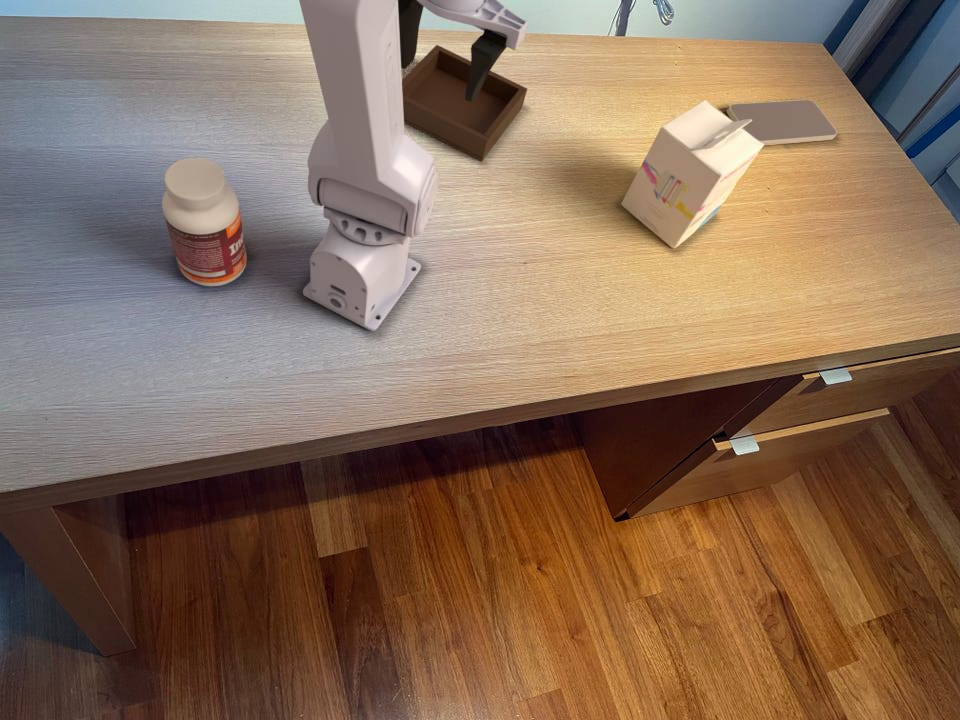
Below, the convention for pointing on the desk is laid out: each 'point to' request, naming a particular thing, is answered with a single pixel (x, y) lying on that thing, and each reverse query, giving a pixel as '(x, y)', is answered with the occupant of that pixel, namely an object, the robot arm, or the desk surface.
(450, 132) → the tray
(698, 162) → the ink box
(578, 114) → the desk surface
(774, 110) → the smartphone
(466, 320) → the desk surface
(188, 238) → the pill bottle
